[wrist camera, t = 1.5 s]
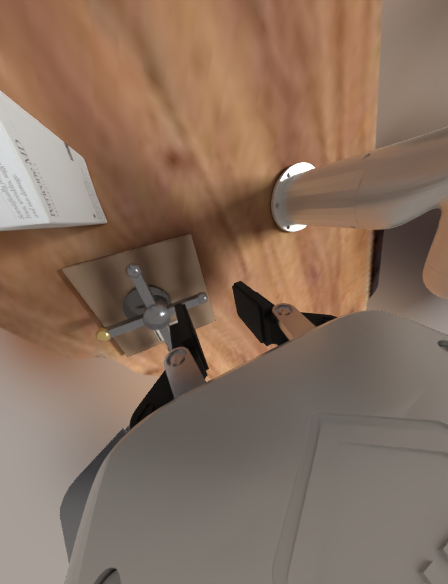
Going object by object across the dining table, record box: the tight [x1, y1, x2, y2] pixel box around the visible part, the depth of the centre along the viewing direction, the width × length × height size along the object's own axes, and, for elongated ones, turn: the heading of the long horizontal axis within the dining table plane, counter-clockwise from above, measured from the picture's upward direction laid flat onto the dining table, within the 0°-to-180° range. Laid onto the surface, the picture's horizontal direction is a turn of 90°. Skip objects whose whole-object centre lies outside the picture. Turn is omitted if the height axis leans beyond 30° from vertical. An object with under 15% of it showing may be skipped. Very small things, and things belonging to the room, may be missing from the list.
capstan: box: [96, 263, 208, 352], centre depth 28 cm, size 18×18×6 cm
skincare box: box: [0, 91, 107, 231], centre depth 16 cm, size 8×6×15 cm
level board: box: [61, 234, 216, 357], centre depth 31 cm, size 20×20×2 cm
